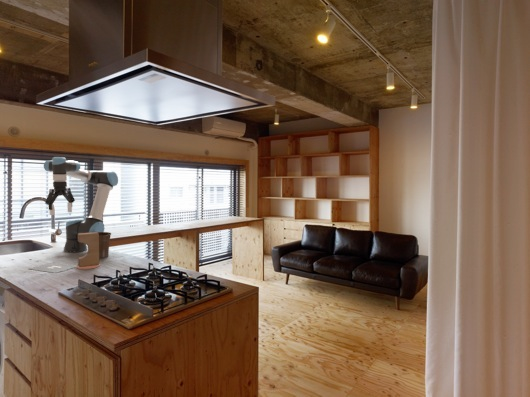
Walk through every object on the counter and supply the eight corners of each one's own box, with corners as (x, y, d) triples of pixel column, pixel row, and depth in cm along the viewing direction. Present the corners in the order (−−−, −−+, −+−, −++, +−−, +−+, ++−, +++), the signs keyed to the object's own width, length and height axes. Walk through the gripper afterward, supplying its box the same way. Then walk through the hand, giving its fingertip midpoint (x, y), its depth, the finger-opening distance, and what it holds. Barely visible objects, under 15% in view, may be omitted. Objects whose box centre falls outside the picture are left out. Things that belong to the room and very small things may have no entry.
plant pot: (97, 260, 218) (97, 236, 217) (79, 258, 224) (79, 234, 223) (116, 255, 234) (116, 233, 233) (99, 253, 239) (99, 231, 238)
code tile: (53, 262, 211) (53, 262, 211) (79, 266, 204) (79, 265, 204) (28, 269, 196) (28, 268, 196) (56, 273, 189) (56, 272, 189)
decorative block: (79, 267, 200) (78, 234, 199) (78, 265, 205) (77, 233, 203) (99, 264, 206) (98, 233, 205) (97, 262, 211) (97, 231, 210)
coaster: (88, 262, 213) (88, 261, 213) (104, 264, 209) (104, 263, 209) (71, 267, 201) (71, 266, 201) (88, 270, 197) (88, 269, 197)
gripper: (71, 180, 226) (72, 211, 228) (37, 181, 202) (39, 215, 204) (80, 180, 224) (81, 211, 226) (47, 181, 200) (48, 216, 202)
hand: (61, 213), depth 215 cm, fingers open, 13 cm apart
